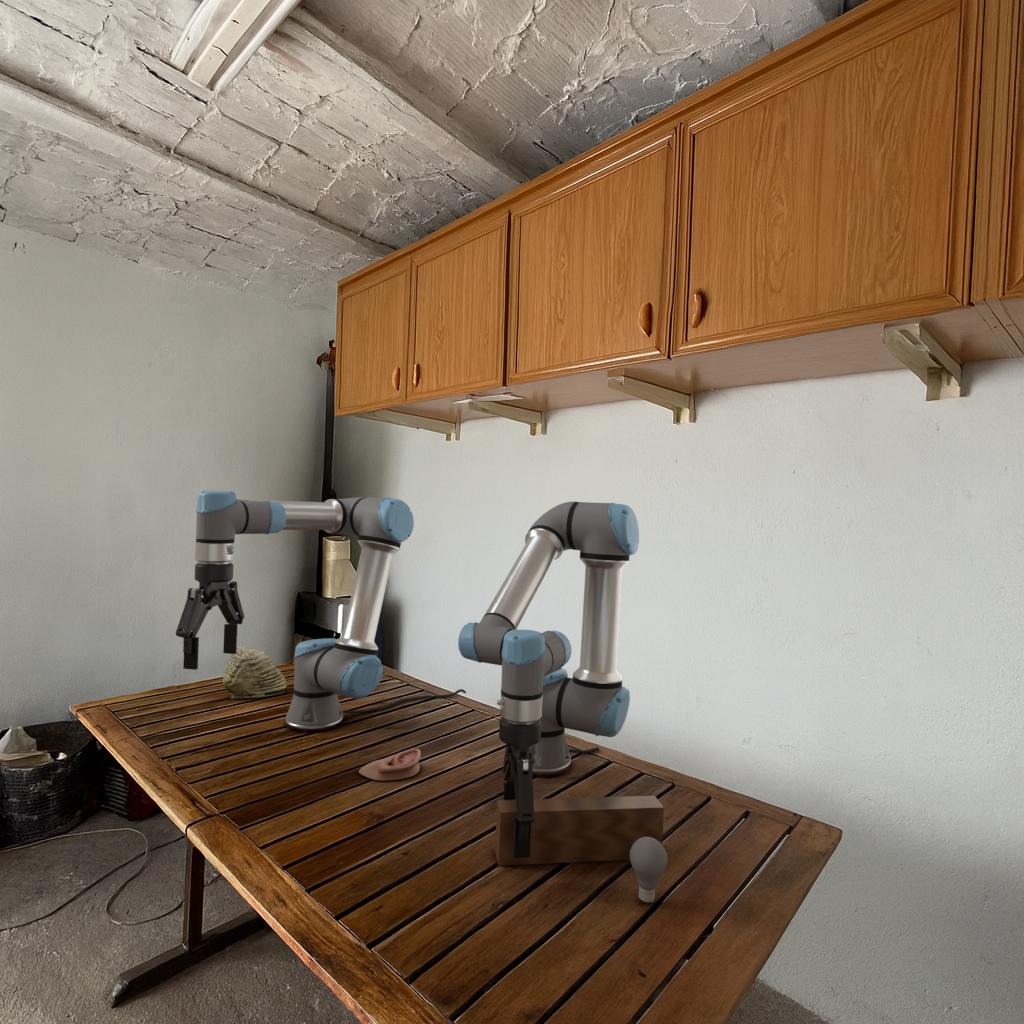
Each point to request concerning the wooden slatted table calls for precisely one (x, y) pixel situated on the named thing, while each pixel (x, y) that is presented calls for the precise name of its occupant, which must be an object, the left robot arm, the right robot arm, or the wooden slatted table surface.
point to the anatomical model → (393, 766)
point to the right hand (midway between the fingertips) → (515, 835)
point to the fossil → (252, 674)
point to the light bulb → (648, 865)
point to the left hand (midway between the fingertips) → (211, 660)
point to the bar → (580, 829)
